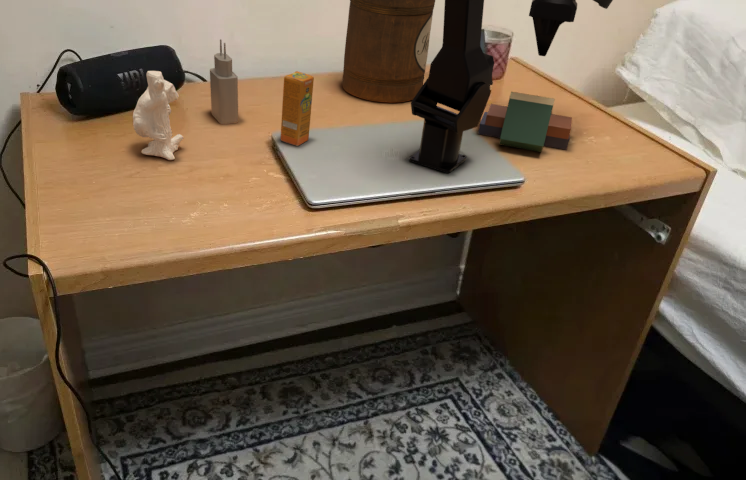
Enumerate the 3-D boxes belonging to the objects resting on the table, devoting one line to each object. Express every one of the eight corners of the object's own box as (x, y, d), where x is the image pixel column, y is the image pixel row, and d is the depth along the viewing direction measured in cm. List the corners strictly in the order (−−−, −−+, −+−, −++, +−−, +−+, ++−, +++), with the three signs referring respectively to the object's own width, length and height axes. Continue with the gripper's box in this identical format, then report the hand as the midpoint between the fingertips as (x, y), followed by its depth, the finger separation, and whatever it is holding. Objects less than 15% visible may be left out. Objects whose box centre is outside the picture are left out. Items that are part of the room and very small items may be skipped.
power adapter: (220, 124, 103) (218, 46, 97) (210, 112, 107) (207, 36, 101) (239, 122, 105) (238, 45, 98) (228, 110, 109) (226, 35, 102)
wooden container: (434, 102, 118) (454, -31, 106) (355, 104, 115) (367, -33, 102) (405, 75, 130) (420, -47, 118) (332, 77, 126) (341, -49, 114)
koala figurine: (188, 162, 91) (182, 77, 85) (137, 166, 90) (128, 78, 83) (181, 138, 98) (176, 57, 91) (134, 141, 96) (125, 58, 90)
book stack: (482, 121, 112) (486, 101, 110) (567, 136, 109) (573, 116, 107) (477, 134, 107) (481, 113, 105) (566, 150, 104) (572, 129, 102)
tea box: (501, 134, 107) (512, 86, 103) (543, 142, 106) (555, 93, 102) (497, 150, 102) (508, 100, 97) (540, 158, 100) (553, 107, 96)
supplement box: (299, 147, 98) (301, 80, 93) (280, 141, 100) (281, 75, 94) (311, 140, 101) (314, 75, 95) (292, 134, 102) (294, 70, 96)
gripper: (629, -38, 86) (595, 80, 95) (623, -55, 101) (594, 48, 110) (542, -48, 89) (517, 68, 97) (549, -64, 104) (526, 38, 112)
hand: (542, 55), depth 104 cm, fingers closed
